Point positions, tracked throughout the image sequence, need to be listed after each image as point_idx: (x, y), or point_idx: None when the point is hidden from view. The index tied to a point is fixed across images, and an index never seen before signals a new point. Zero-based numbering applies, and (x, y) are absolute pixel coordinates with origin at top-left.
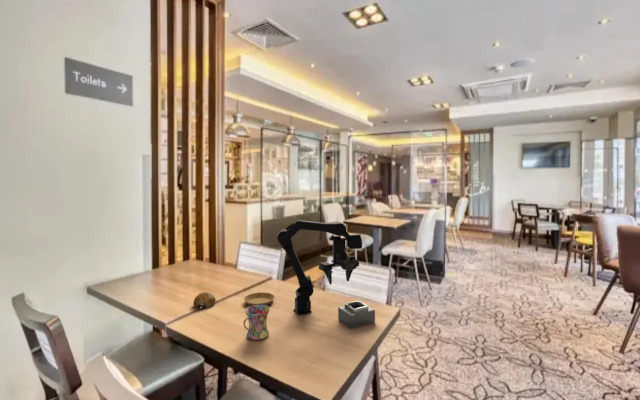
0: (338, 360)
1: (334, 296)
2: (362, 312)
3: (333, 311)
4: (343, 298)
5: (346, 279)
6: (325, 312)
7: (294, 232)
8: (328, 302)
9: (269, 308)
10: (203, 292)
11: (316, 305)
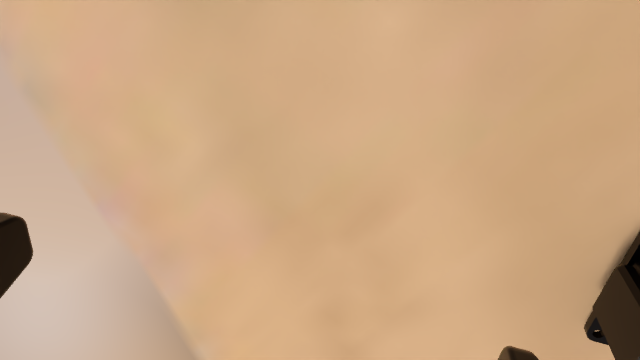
0: None
1: (217, 309)
2: None
3: (444, 94)
4: (175, 240)
5: (8, 286)
6: (532, 131)
7: None
8: (333, 268)
9: None
10: None
11: (466, 295)
